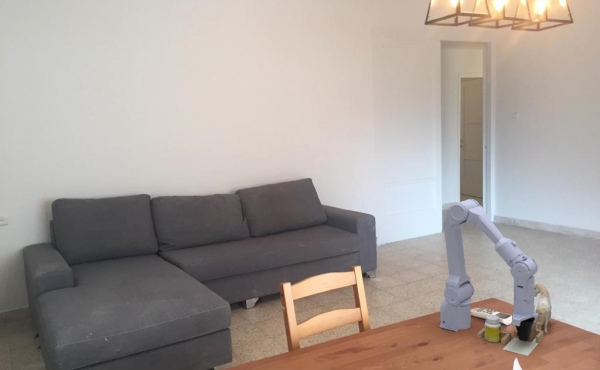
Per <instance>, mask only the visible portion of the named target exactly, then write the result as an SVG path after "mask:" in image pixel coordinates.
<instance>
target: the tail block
mask: <svg viewBox="0 0 600 370" xmlns="http://www.w3.org/2000/svg"><path fill="white" fill-rule="evenodd" d="M535 338H536V322H535V321H534V322H533V324H532V327H531V330H530V334H529V338H528V340H527V341H529V342H532V341H533V340H534V339H535ZM518 339H519V336H518Z"/></svg>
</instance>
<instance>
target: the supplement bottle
mask: <svg viewBox="0 0 600 370" xmlns="http://www.w3.org/2000/svg"><path fill="white" fill-rule="evenodd" d="M500 322H501V319H500V316H499V315H495V314H487V315H486V316H485V322H484V327H485V335H484V340H485V341H486V342H488V343H492V344H498V343H501V339H502V337H501V331H502V329H501V328H502V324H501V323H500Z"/></svg>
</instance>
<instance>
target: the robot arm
mask: <svg viewBox="0 0 600 370" xmlns="http://www.w3.org/2000/svg"><path fill="white" fill-rule="evenodd" d="M446 213H447V214H446V217H445V219H444V221H443V230H444V239H445V240H444V241H445V249H446V257H447V266H448V277H447V279H446V281H445V289H444V292H443V297H444V299H443V300H442V302H441V303H440V309H439V312H440V313H439V314H440V317H439V318H440V325H439V328H442V329H446V330H449V331H453V332H458V331H459V330H467V329H469V328H471V327H472V326H471V325H472V324H471V323H472V321H471V320H472V319H471V317H472V316H471V298H472V297H473V295H474V294H475V287H474V286H473V283H472V281H471V277H470V276H469V275H468V274H467V270H466V269H467V268H466V262H465V252H464V251H465V250H464V244H463V243H464V241H463V233H462V228H463V227H464V226H465V225H473V226H477V227H478V228H479V230H481V232H483V233H484V235H486V236H487V237H488V239H490V240H491V242H492V243H494V245H495V248H494V249H495V252H497V254H498V255H499V257H501V259H503V261H504V262H505V263H506V264H507V265H508V267H510V269H509V270H510V271H509V272H510V274H511V276H512V277H513V309H512V319H511V322H512V323H511V325H513V326H514V327H515V330H516V329H517V332H518V336H519V340H521V341H525V342H526V341H527V340H528V338H529V334H530V330H531V327H532V324H533V322H535V317H538V313H535V311H536V309H535V308H536V307H535V297H534V284H535V276H534V275H536V274H537V272H538V268H539V267H538V264H537V262H536V261H535V259H534V258H532V257H530V256H528V255H527V254H525V253H524V252H523V251H522V250H521V249H520V247H518V246H517V242H516V241H515V240H512V239H511V238H509V237H508V238H507V237H504V236H503V234H502V233H501V231H500V230H499V229H498V228H497V226H496V225H495V224H494V222H493V221H492V220H491V218H490V217H489V216H488V215H487V214H486V211H485V208H484V207H483V206H482V205H480V203H479V202H478V201H477V200H476V199H473V198H468V199H465V200H463V201H459V202H454V203H452V204H451V205H450V206H449V207H448V208H447V209H446Z"/></svg>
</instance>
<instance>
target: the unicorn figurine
mask: <svg viewBox="0 0 600 370" xmlns="http://www.w3.org/2000/svg"><path fill="white" fill-rule="evenodd" d="M538 294H540V297H539V299H538V302H537V306H536V307H535V308H536V309H535V313H538V317H535V321H534V322H536V329H537V330H542V326H543V325H544V329H543V331H544V334H548V326H552V323H553V322H552V317H551V316H552V308H553V307H552V303H551V297H550V293H549V291H548V289H547V287H546V286H545V285H544V284H543V283H540V282H538V283H536V282H534V298H535V297H536V298H537V297H538Z"/></svg>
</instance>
